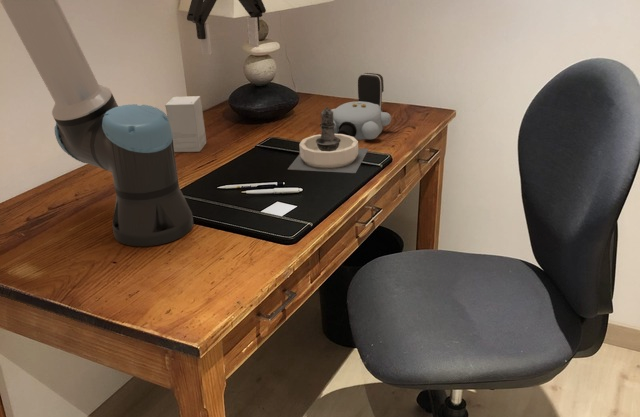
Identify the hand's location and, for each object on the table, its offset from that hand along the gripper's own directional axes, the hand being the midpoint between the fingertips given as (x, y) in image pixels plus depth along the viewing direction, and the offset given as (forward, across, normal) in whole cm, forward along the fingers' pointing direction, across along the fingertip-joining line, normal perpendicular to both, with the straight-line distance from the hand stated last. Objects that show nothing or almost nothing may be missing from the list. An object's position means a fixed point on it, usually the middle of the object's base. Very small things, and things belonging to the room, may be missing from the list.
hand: (231, 50), depth 150 cm
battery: (+24, -50, -1) cm, 56 cm away
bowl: (+26, -15, +15) cm, 34 cm away
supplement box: (+26, 0, -20) cm, 33 cm away
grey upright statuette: (+25, -15, +15) cm, 33 cm away
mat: (+27, -15, +15) cm, 34 cm away
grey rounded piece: (+26, -33, +8) cm, 42 cm away
